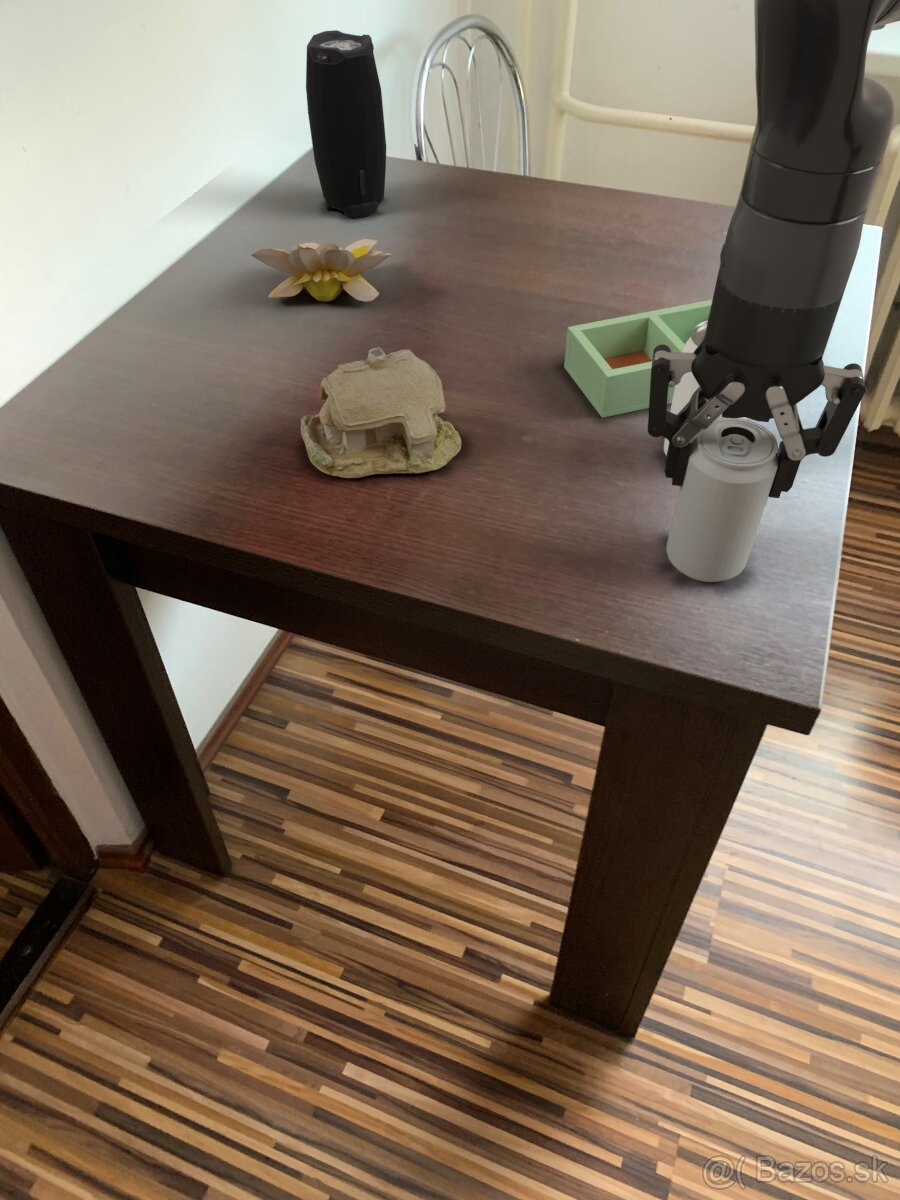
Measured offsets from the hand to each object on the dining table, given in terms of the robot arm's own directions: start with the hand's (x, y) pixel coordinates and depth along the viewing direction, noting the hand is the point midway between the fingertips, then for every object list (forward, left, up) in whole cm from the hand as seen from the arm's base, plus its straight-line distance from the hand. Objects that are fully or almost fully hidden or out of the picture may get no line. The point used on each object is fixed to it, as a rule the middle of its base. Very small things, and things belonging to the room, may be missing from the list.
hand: (724, 484), depth 66 cm
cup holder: (-9, -25, -8) cm, 28 cm away
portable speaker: (+11, -75, -8) cm, 76 cm away
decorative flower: (+19, -53, -8) cm, 57 cm away
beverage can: (0, 0, -8) cm, 8 cm away
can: (-6, -12, -8) cm, 16 cm away
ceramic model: (+21, -23, -8) cm, 32 cm away
